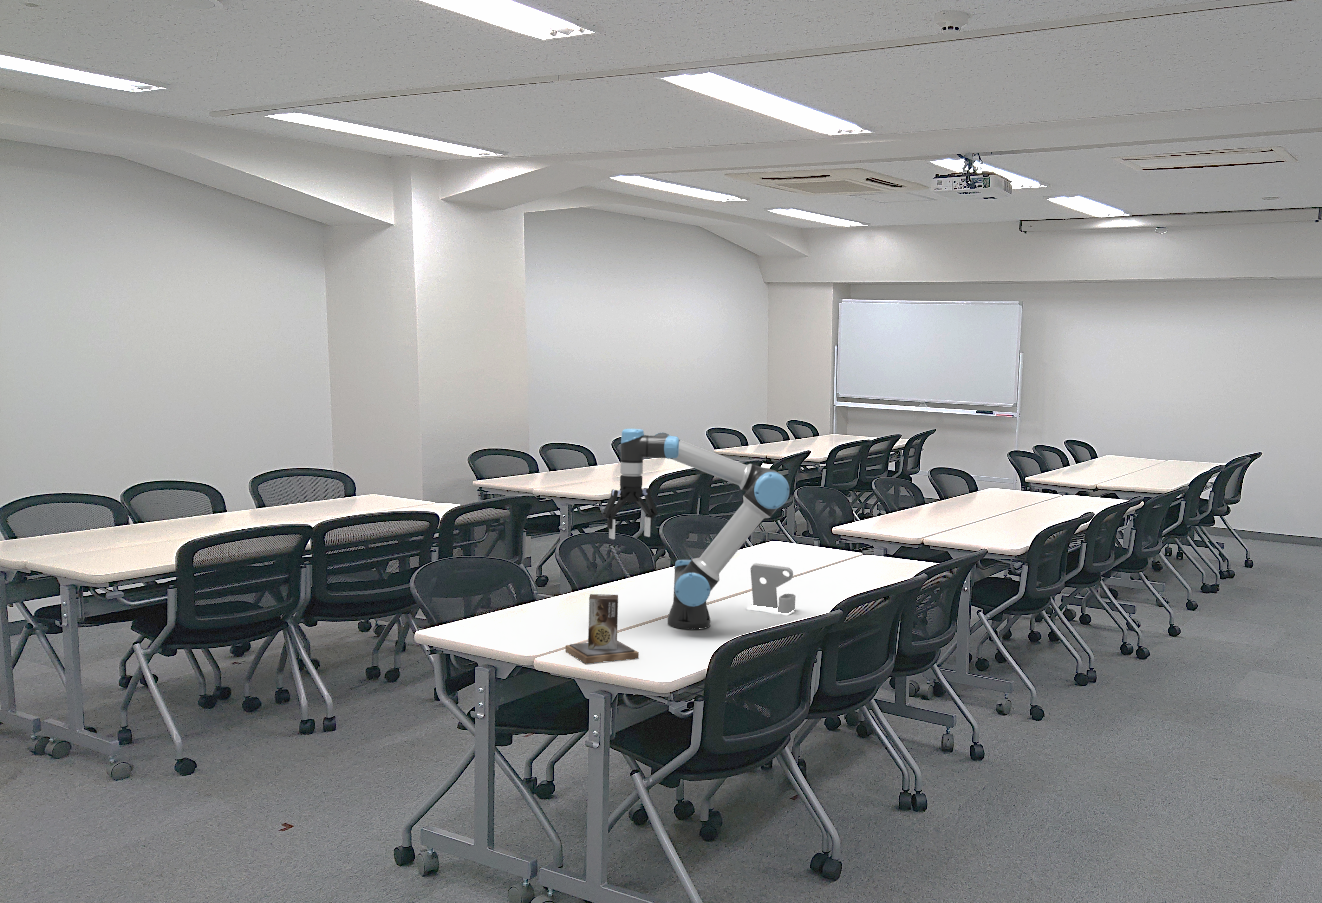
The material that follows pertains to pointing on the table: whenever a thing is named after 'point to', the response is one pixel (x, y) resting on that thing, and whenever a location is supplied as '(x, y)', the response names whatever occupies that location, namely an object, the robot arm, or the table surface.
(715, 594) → the table surface
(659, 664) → the table surface
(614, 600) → the coffee box
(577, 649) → the tray
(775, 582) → the grey bracket with cup
